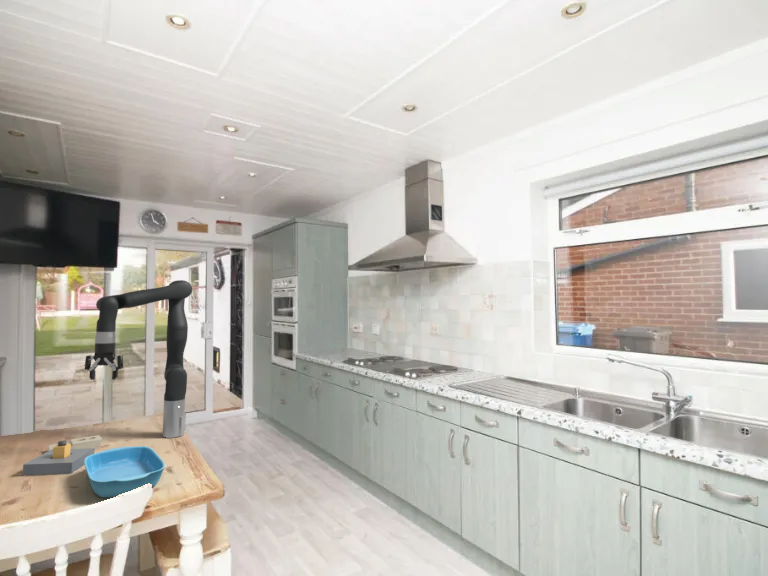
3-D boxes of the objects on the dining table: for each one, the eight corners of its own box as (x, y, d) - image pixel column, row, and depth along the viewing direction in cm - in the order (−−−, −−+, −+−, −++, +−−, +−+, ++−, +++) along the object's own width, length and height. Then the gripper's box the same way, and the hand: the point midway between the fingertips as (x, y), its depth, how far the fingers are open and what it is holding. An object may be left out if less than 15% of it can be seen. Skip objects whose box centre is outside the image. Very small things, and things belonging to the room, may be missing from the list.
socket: (94, 458, 169) (94, 448, 169) (71, 473, 153) (72, 462, 153) (50, 460, 166) (50, 449, 167) (22, 475, 151) (23, 464, 151)
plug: (69, 461, 162) (71, 439, 163) (63, 465, 158) (64, 442, 159) (58, 462, 162) (59, 440, 162) (52, 466, 158) (53, 443, 158)
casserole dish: (171, 489, 142) (172, 468, 142) (91, 509, 127) (93, 485, 127) (146, 459, 169) (147, 441, 170) (79, 473, 155) (80, 453, 155)
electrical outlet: (48, 442, 176) (99, 434, 188) (48, 452, 176) (99, 443, 188) (49, 446, 171) (102, 438, 183) (49, 457, 171) (101, 447, 183)
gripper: (126, 341, 187) (125, 377, 186) (91, 341, 184) (90, 378, 184) (119, 342, 179) (117, 380, 178) (82, 342, 177) (80, 381, 176)
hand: (103, 379), depth 181 cm, fingers open, 8 cm apart
